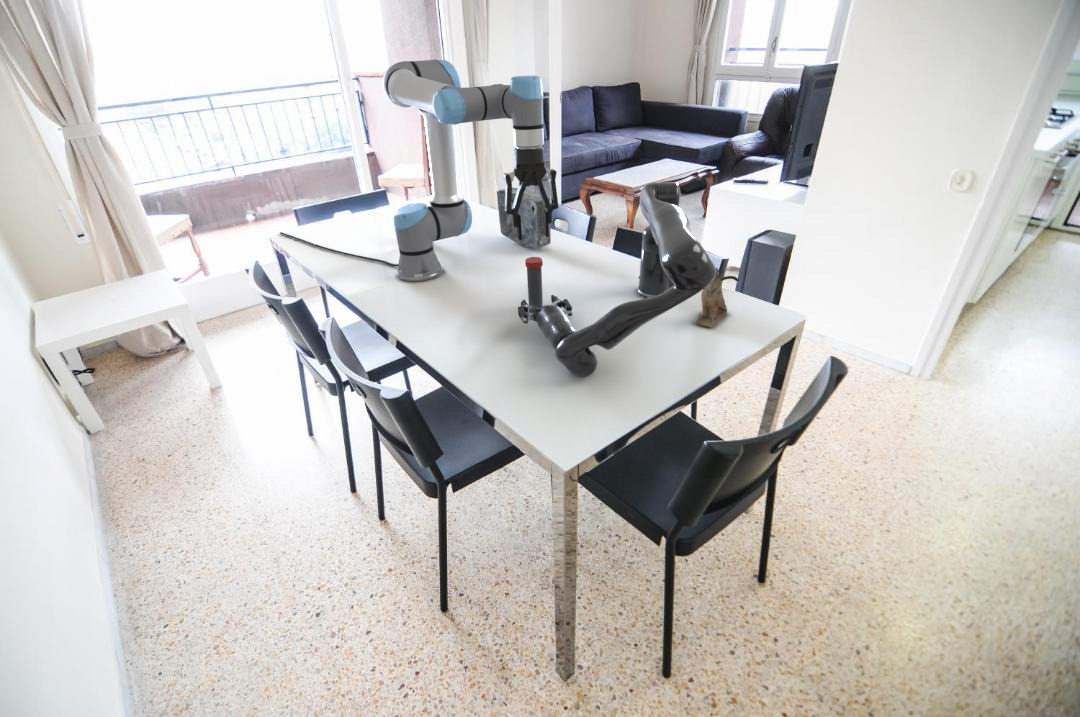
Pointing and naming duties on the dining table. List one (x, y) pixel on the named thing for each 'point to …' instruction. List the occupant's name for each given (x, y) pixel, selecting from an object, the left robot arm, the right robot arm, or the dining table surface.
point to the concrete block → (524, 219)
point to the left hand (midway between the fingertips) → (532, 236)
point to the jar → (534, 286)
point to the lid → (533, 262)
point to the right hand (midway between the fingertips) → (538, 300)
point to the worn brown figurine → (712, 303)
